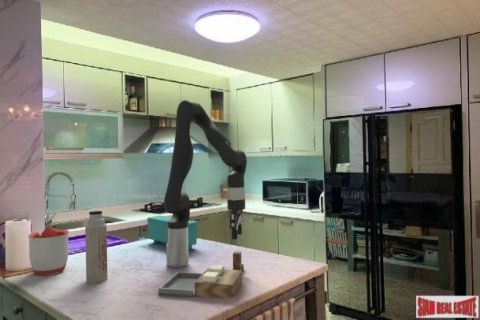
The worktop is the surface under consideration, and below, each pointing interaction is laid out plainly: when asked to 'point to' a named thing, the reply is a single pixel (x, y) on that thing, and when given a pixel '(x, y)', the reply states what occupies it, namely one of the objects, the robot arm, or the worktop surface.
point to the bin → (180, 285)
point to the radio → (160, 230)
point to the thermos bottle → (96, 248)
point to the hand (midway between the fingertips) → (237, 236)
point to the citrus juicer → (48, 251)
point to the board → (220, 285)
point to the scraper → (237, 261)
